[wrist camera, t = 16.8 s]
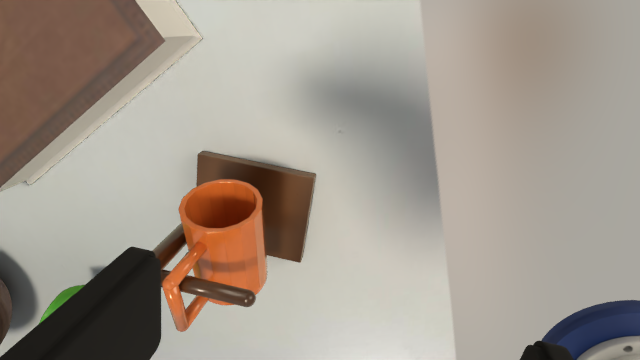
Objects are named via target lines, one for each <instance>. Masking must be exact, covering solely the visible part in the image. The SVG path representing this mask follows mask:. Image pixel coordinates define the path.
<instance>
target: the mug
mask: <svg viewBox="0 0 640 360" xmlns="http://www.w3.org/2000/svg"><path fill="white" fill-rule="evenodd" d="M179 214H180V218H181V222H182V226H183V230H184V234H185V238H186V242H187V246H188V251H189V252H188V253H187V254H186V255H185V256H184V257H183V258H182V260H181V261H180V262H179V263H178V264H177V265H176V266H175V268H174V269H173V270H172V271H171V272H170V273H169V275H168V276H167V277H166V278H165V279H164V280H163V282H162V287H163V290H164V293H165V296H166V299H167V302H168V305H169V308H170V311H171V314H172V317H173V320H174V323H175V326H176V329H177V330H178V331H180V332H183V331H186V330H187V329H188V328H189V326H190V325H191V323H192V322H193V321H194V319H195V318H196V316H197V315H198V314H199V312H200V311H201V309H202V308H203V307H204V305H205V304H206V302H207V301H208V300H209V301H210V302H213V303H215V304H220V305H234V304H231V303H227V302H223V301H219V300H214V299H210V298H206V297H202V296H198V295H196V297H195V298H194V299H193V301H192V302H191V303H190V305H189V306H188V307H187V309H186V310H185V306H184V303H183V300H182V296H181V293H180V289H179V286H178V285H179V284H180V282H181V281H182V280H183V279H184V278H185V276H186V275H187V274H188V273H189V271H190V270H191V269H192V268H193V271H194V275H195V277H197V278H201V279H205V280H209V281H214V282H218V283H222V284H226V285H231V286H235V287H239V288H243V289H248V290H251V291H253V292H254V294H255V295H256V294H257V293H258V292H259V291H260V290H261V289H262V287H263V286H264V284H265V282H266V279H267V256H266V241H265V226H264V212H263V199H262V197H261V195H260V193H259V191H258V190H257V189H256V188H255V187H253V186H252V185H250V184H249V183H246V182H243V181H239V180H234V179H220V180H215V181H211V182H206V183H204V184H202V185H200V186H198V187H196V188H194V189H192V190H191V191H190V192H189V193H188V194H187V195H186V196H184V197H183V199H182V201H181V204H180V206H179Z"/></svg>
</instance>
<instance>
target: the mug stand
mask: <svg viewBox="0 0 640 360" xmlns="http://www.w3.org/2000/svg"><path fill="white" fill-rule="evenodd" d="M315 178H316V174H313V173H308V172H303V171H298V170H294V169H289V168H284V167H279V166H274V165H269V164H264V163H259V162H254V161H250V160H245V159H240V158H235V157H230V156H225V155H220V154H215V153H211V152H206V151H202V152H200V153H199V154H198V165H197V187H198V186H200V185H202V184H204V183H206V182H211V181H215V180H220V179H234V180H239V181H243V182H246V183H249V184H250V185H252V186H253V187H255V188H256V189H257V190H258V191H259V193H260V195H261V197H262V199H263V212H264V226H265V241H266V255H269V256H273V257H278V258H282V259H287V260H291V261H295V262H301V260H302V257H303V251H304V245H305V239H306V233H307V227H308V221H309V214H310V208H311V202H312V196H313V190H314V184H315ZM186 244H187V242H186V238H185V234H184V230H183V226H182V223H181V224H180V225H179V226H178V227H177V228H176V229H175V230H174V231H172V232H171V233H170V234H169V235H168V236H167V237H166V238H165V239H164V240H163V241H162V242H161V243H160V244H159V245H158V246H157V247H156V248H155V249H154V250H153V252H154V253H155V255H156V258H158V259H160V262H161V287H162V282H163V280H164V279H165V278H166V277H167V276H168V275H169V273H170V272H171V271H167V270H163V269H164V268H165V267H166V265H167V264H168V263H169V262H170V261H171V260H172V259H173V258H174V257H175V256H176V255H177V253H178V252H179V251H180V250H181V249H182V248H183V247H184V246H185V245H186ZM178 286H179V289H180V291H181V292H185V293H189V294H193V295H198V296H202V297H206V298H210V299H214V300H219V301H223V302H227V303H231V304H235V305H240V306H244V307H250V306H252V305H253V304H254V302H255V300H256V296H255V294H254V292H253V291H251V290H248V289H243V288H239V287H235V286H231V285H226V284H222V283H218V282H214V281H209V280H205V279H201V278H197V277H192V276H188V275H186V276H185V278H184V279H183V280H182V281H181V282H180V284H179V285H178Z"/></svg>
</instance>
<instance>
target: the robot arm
mask: <svg viewBox="0 0 640 360" xmlns="http://www.w3.org/2000/svg"><path fill="white" fill-rule="evenodd" d="M160 339H161V262H160V259H158V258H156V255H155V253H154V252H153V251H149V250H145V249H140V248H136V247H130V248H128V249H127V250H126V251H124V252H123V253H122V254H121V255H120V256H119V257H117V258H116V259H115V260H114V261H113V262H112V263H110V264H109V265H108V266H107V267H106V268H105V269H103V270H102V271H101V272H100V273H99V274H98V275H96V276H95V277H94V278H93V279H92V280H91V281H89V282H88V283H87V284H86V285H85V286H84V287H82V288H81V289H80V290H79V291H78V292H77V293H75V294H74V295H73V296H71V297H70V298H69V299H68V300H67V301H65V302H64V303H63V304H62V305H61V306H60V307H58V308H57V309H56V310H55V311H54V312H53V313H51V314H50V315H49V316H48V317H47V318H46V319H44V320H43V321H42V322H41V323H40V324H39V325H37V326H36V327H35V328H34V329H33V330H32V331H30V332H29V333H28V334H27V335H26V336H25V337H23V338H22V339H21V340H20V341H19V342H18V343H16V344H15V345H14V346H13V347H12V348H10V349H9V350H8V351H7V352H6V353H5V354H3V355H2V356H1V357H0V360H150V358H151V357H152V356H153V354H154V353H155V351H156V350H157V348H158V346H159V343H160ZM520 360H574V359H573V357H572V356H571V354H570V352H569V351H568V349H567V348H566V347H564V346H561V345H556V344H552V343H548V342H543V341H537V342H535V343H534V345H528V346H527V347H526V349H525V350H524V352H523V355H522V357H521V359H520ZM577 360H640V336H626V337H620V338H615V339H611V340H608V341H605V342H602V343H599V344H597V345H595V346H593V347H591V348H590V349H588V350H587V351H586V352H584V353H583V354H581V355H580V356H579V357H578V359H577Z"/></svg>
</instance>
